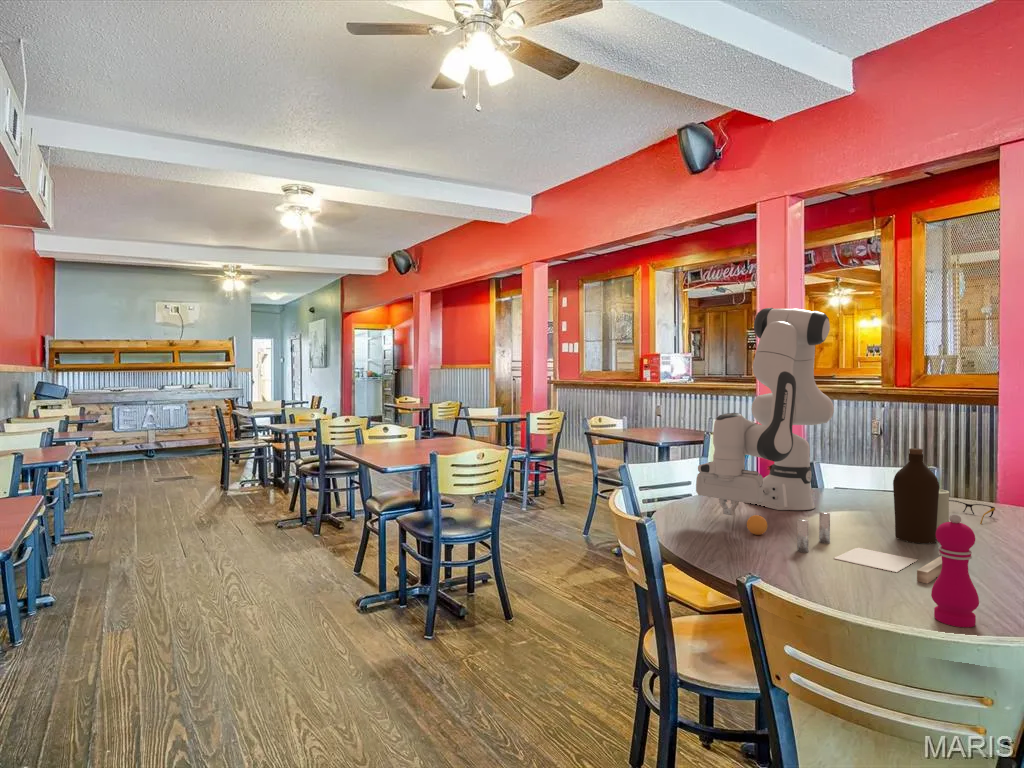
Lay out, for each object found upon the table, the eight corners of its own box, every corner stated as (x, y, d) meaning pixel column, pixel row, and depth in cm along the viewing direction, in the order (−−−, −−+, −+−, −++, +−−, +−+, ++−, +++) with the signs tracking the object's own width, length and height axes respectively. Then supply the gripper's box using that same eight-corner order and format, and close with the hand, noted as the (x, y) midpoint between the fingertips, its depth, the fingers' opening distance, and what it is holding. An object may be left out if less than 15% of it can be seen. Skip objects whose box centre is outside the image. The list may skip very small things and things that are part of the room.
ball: (742, 534, 176) (743, 515, 175) (753, 530, 179) (753, 512, 179) (761, 538, 171) (761, 518, 171) (771, 534, 175) (771, 515, 175)
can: (955, 534, 174) (956, 492, 174) (919, 532, 176) (919, 491, 175) (940, 526, 183) (940, 486, 183) (905, 525, 185) (906, 485, 184)
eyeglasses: (996, 518, 194) (996, 506, 193) (980, 526, 185) (980, 512, 185) (943, 510, 205) (943, 498, 205) (926, 517, 196) (926, 504, 196)
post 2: (817, 542, 167) (817, 512, 167) (821, 540, 169) (821, 511, 168) (827, 544, 165) (827, 514, 165) (831, 542, 167) (831, 513, 166)
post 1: (795, 550, 159) (795, 520, 159) (800, 549, 161) (800, 518, 160) (805, 553, 157) (805, 522, 157) (810, 551, 159) (810, 520, 158)
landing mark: (833, 558, 152) (833, 558, 152) (857, 548, 161) (857, 547, 161) (896, 572, 141) (896, 571, 141) (918, 560, 150) (918, 559, 150)
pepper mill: (931, 610, 119) (931, 508, 119) (977, 618, 115) (978, 512, 115) (930, 623, 113) (931, 515, 113) (980, 632, 109) (980, 520, 109)
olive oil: (923, 546, 162) (924, 452, 161) (884, 537, 171) (884, 448, 171) (947, 541, 167) (948, 449, 166) (907, 532, 176) (908, 445, 176)
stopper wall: (916, 581, 136) (917, 570, 136) (946, 562, 148) (946, 552, 148) (927, 583, 134) (927, 572, 134) (956, 564, 147) (956, 554, 147)
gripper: (768, 470, 176) (768, 519, 176) (704, 463, 191) (704, 508, 191) (756, 473, 171) (757, 522, 171) (693, 465, 187) (693, 510, 187)
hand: (728, 514), depth 181 cm, fingers closed
